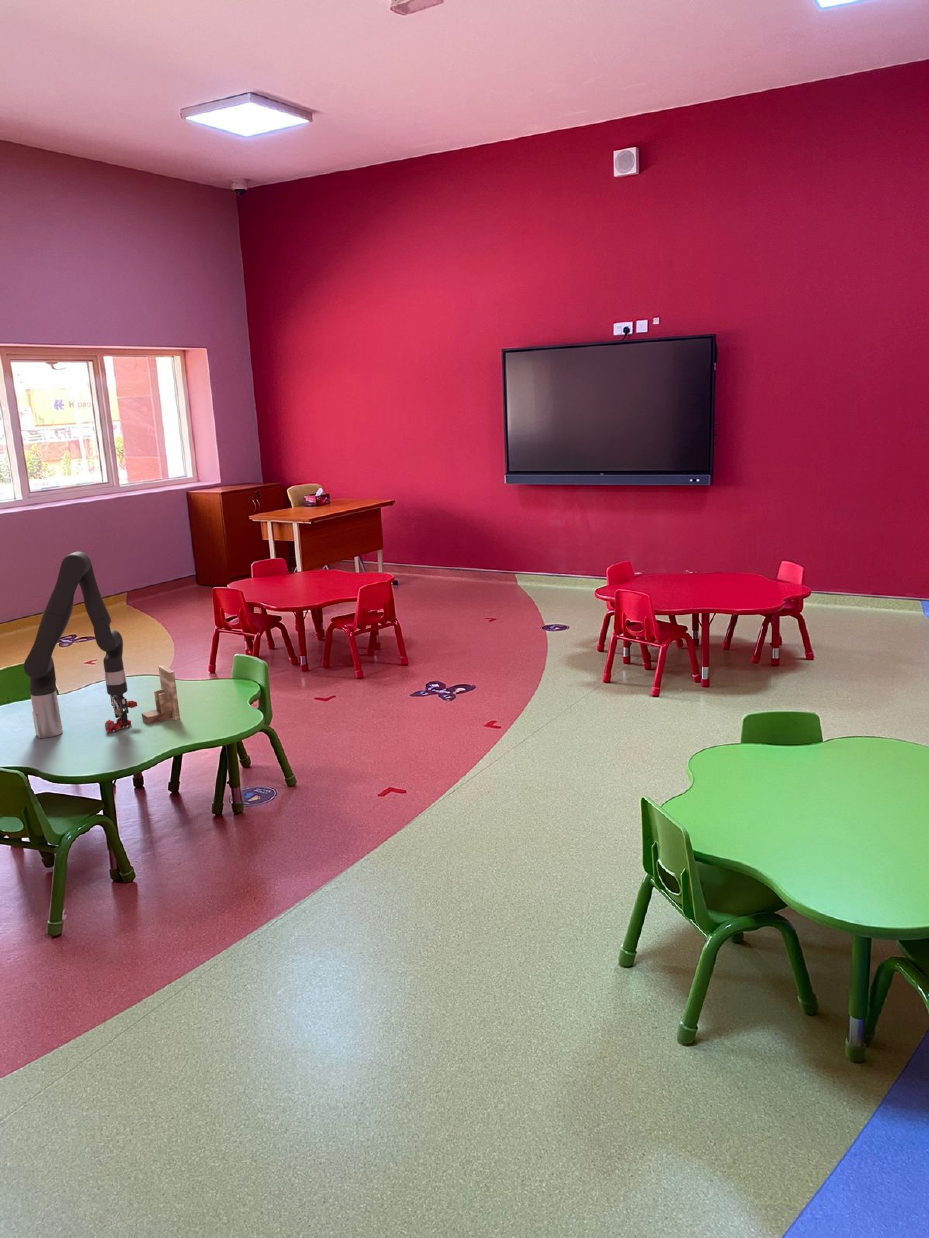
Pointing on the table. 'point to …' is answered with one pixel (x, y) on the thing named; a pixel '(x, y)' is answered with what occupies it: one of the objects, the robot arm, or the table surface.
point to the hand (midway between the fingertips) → (121, 720)
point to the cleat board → (164, 699)
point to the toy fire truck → (119, 720)
